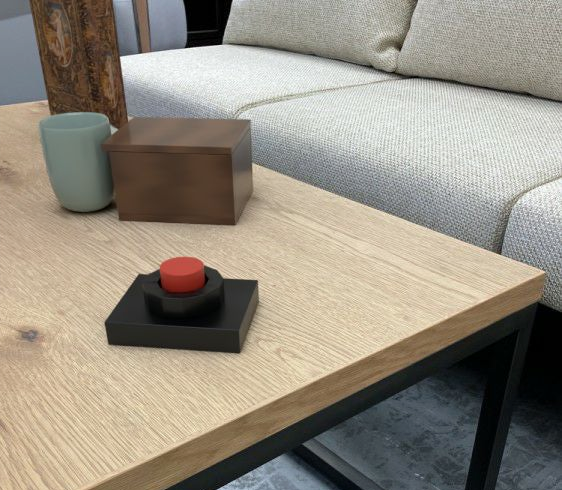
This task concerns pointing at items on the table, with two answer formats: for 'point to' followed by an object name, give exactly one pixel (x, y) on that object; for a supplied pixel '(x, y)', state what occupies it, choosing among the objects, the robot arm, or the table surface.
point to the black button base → (184, 314)
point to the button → (182, 274)
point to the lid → (178, 135)
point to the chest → (183, 185)
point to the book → (80, 57)
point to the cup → (78, 159)
